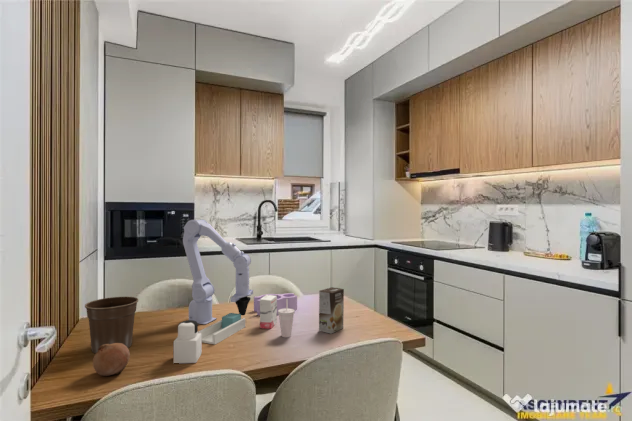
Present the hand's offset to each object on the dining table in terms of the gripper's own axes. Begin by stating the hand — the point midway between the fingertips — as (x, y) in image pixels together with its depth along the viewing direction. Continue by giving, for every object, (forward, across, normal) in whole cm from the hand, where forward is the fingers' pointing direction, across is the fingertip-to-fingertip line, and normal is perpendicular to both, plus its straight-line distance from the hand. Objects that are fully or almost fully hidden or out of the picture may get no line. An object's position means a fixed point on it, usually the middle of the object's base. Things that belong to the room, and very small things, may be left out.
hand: (242, 314), depth 149 cm
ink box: (+4, +1, -12) cm, 13 cm away
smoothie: (+4, -7, -24) cm, 25 cm away
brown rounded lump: (+4, -53, +11) cm, 54 cm away
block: (+3, -8, 0) cm, 8 cm away
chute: (+3, -14, 0) cm, 14 cm away
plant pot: (+4, -39, +28) cm, 48 cm away
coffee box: (+4, +6, -38) cm, 39 cm away
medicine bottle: (+4, -37, -3) cm, 37 cm away
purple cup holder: (+4, +21, -5) cm, 22 cm away
